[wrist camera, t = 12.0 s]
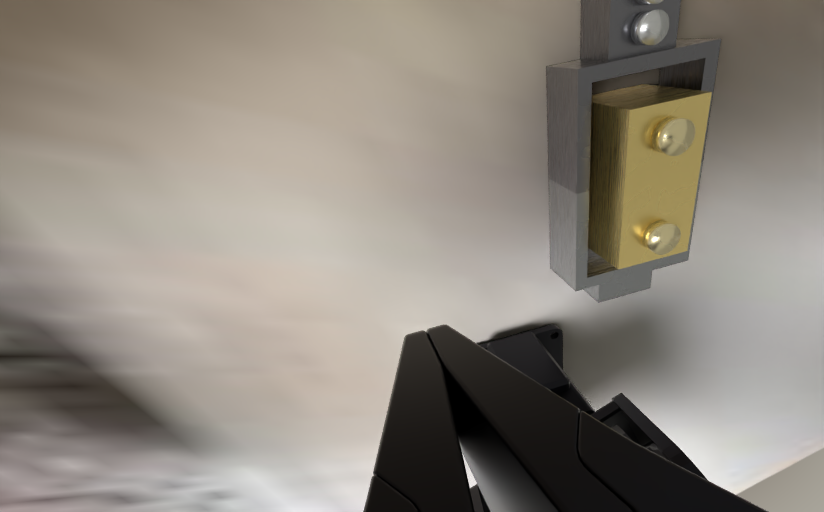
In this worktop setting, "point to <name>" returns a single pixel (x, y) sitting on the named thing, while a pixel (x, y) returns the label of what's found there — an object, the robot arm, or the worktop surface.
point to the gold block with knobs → (644, 171)
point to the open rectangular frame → (571, 126)
